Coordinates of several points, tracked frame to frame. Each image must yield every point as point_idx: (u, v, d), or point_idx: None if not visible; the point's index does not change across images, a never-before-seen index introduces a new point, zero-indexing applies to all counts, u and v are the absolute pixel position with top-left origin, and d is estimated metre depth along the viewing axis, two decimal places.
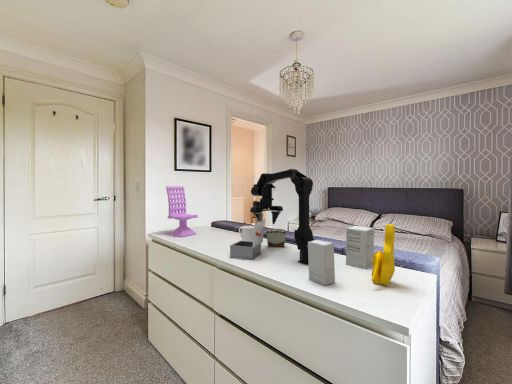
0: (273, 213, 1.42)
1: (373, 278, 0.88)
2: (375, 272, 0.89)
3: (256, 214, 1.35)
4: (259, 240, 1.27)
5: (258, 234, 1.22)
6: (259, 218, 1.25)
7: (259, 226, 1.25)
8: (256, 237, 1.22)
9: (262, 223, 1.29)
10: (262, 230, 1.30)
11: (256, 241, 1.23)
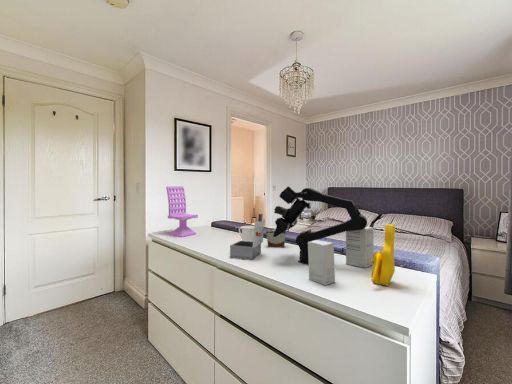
0: None
1: (373, 278, 0.88)
2: (375, 272, 0.89)
3: (278, 226, 1.17)
4: (259, 240, 1.27)
5: (258, 234, 1.22)
6: (259, 218, 1.25)
7: (259, 226, 1.25)
8: (256, 237, 1.22)
9: (262, 223, 1.29)
10: (262, 230, 1.30)
11: (256, 241, 1.23)
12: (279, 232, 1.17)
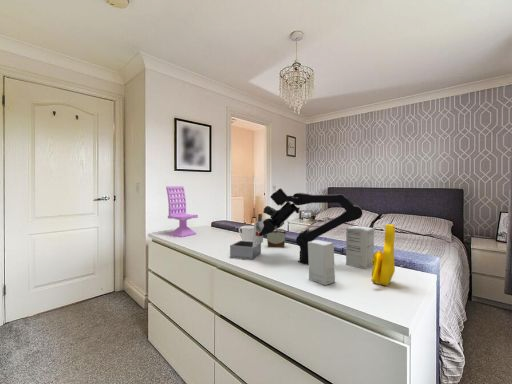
0: None
1: (373, 278, 0.88)
2: (375, 272, 0.89)
3: (265, 226, 1.18)
4: (259, 240, 1.27)
5: (258, 234, 1.22)
6: (259, 218, 1.25)
7: (259, 226, 1.25)
8: (256, 237, 1.23)
9: (262, 223, 1.29)
10: None
11: (256, 241, 1.23)
12: (265, 232, 1.19)
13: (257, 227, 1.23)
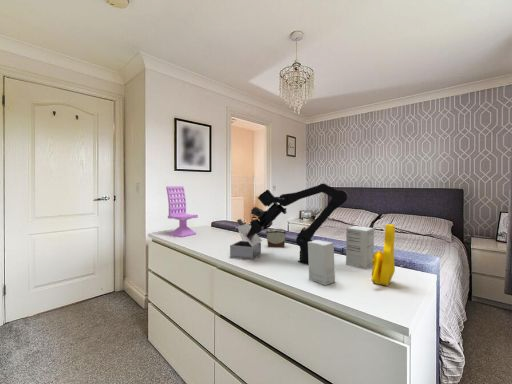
0: None
1: (373, 278, 0.88)
2: (375, 272, 0.89)
3: (253, 227, 1.21)
4: (255, 239, 1.28)
5: None
6: (240, 223, 1.29)
7: (245, 228, 1.28)
8: (249, 237, 1.24)
9: (247, 226, 1.32)
10: None
11: (252, 240, 1.24)
12: (253, 233, 1.21)
13: (243, 230, 1.25)
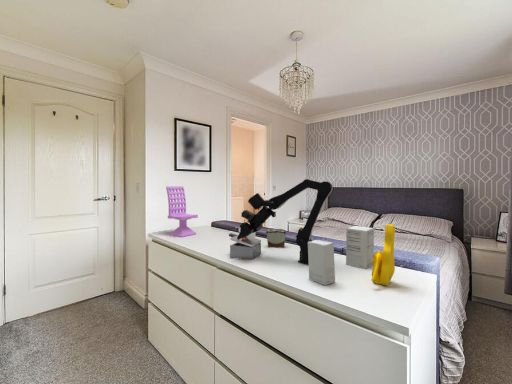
0: None
1: (373, 278, 0.88)
2: (375, 272, 0.89)
3: None
4: (253, 241, 1.28)
5: (243, 239, 1.25)
6: (232, 236, 1.31)
7: None
8: (245, 241, 1.25)
9: None
10: (248, 237, 1.33)
11: (249, 242, 1.24)
12: (242, 236, 1.23)
13: None
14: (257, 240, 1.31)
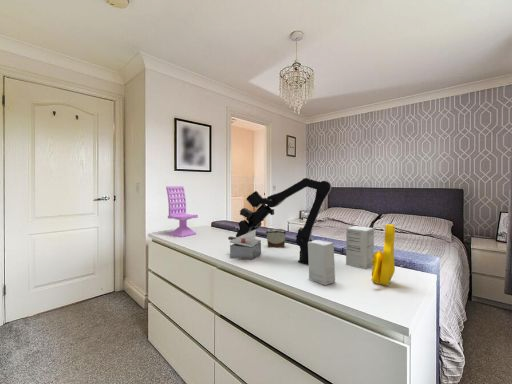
0: None
1: (373, 278, 0.88)
2: (375, 272, 0.89)
3: (241, 227, 1.23)
4: (253, 241, 1.28)
5: (242, 240, 1.25)
6: (231, 239, 1.31)
7: (238, 239, 1.29)
8: (245, 242, 1.25)
9: (240, 237, 1.34)
10: (247, 238, 1.33)
11: (249, 243, 1.24)
12: (241, 233, 1.24)
13: (236, 240, 1.27)
14: (257, 240, 1.31)
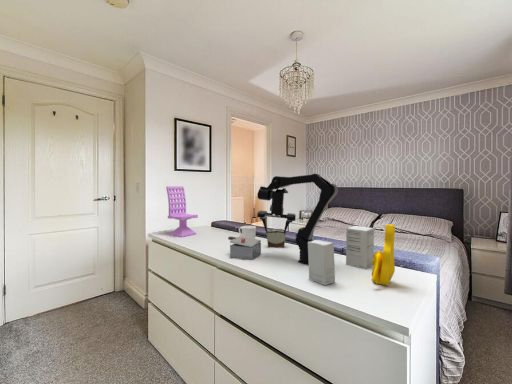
0: None
1: (373, 278, 0.88)
2: (375, 272, 0.89)
3: None
4: (253, 241, 1.28)
5: (242, 240, 1.25)
6: (231, 239, 1.31)
7: (238, 239, 1.29)
8: (245, 242, 1.25)
9: (240, 237, 1.34)
10: (247, 238, 1.33)
11: (249, 243, 1.24)
12: None
13: (236, 240, 1.27)
14: (257, 240, 1.31)
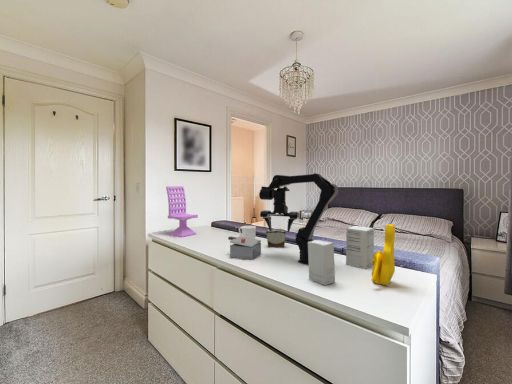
0: None
1: (373, 278, 0.88)
2: (375, 272, 0.89)
3: None
4: (253, 241, 1.28)
5: (242, 240, 1.25)
6: (231, 239, 1.31)
7: (238, 239, 1.29)
8: (245, 242, 1.25)
9: (240, 237, 1.34)
10: (247, 238, 1.33)
11: (249, 243, 1.24)
12: None
13: (236, 240, 1.27)
14: (257, 240, 1.31)
